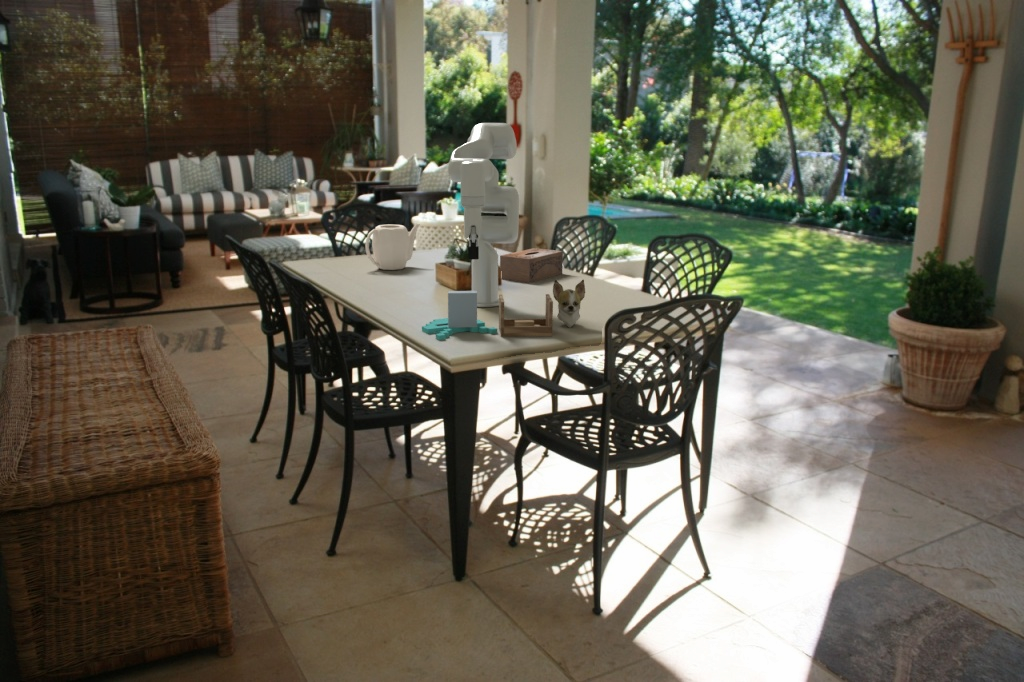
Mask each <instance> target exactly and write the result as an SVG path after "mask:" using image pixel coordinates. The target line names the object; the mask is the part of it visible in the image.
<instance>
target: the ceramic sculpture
mask: <svg viewBox="0 0 1024 682" xmlns="http://www.w3.org/2000/svg"><path fill="white" fill-rule="evenodd" d="M552 294H553V298H554V300H555V301H556V302H558V303H557V304H558V305H557V309H558V312H557V317H556V318H558V319H559V320H560V321H561V322H562V323H564V325H565V326H567V328H572V327H573V326H574V325H575V324H576V323H577V321H579V319H580V318H581V314H580V311H581V310H580V309H581V302H582V301H583V300H584V299H585V295H586V287H585V280H584V279H581V281H579V282H578V283H577V284H575V288H574V290H573V289H571V288H570V289H565V290H564V287H563V285H562V284H561V283H560V282H558V281H557V279H554V283H553V287H552Z"/></svg>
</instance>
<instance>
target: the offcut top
mask: <svg viewBox="0 0 1024 682" xmlns="http://www.w3.org/2000/svg"><path fill="white" fill-rule="evenodd" d="M514 326H515V327H516V326H534V321H533V320H514Z"/></svg>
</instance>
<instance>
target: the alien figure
mask: <svg viewBox="0 0 1024 682" xmlns="http://www.w3.org/2000/svg"><path fill="white" fill-rule="evenodd" d="M421 331H422V332H424V333H425V334H427V335H430V334H435V339H436V340H437V341H445V340H446V338H449V337H450V336H452V335H453V334H455V333H462V332H463V333H464V332H470V333H480V334H486V333H487V334H490V335H495V334H498V328H497V327H495V326H491V327H487V326H486V323H485V322H484V321H482V320H481V319H477V327H459V328H449V327H448V317H445V318H436V319H433V320H432V321H429V323H425V325H422V326H421Z"/></svg>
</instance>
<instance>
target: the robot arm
mask: <svg viewBox="0 0 1024 682" xmlns="http://www.w3.org/2000/svg"><path fill="white" fill-rule="evenodd" d="M517 147H518V145H517V139H516V134H515V132H514V129H513V127H512V126H511V124H509V123H505V122H481V123H478V124H475V125H474V126H473V127H472V129H471V132H470V136H469V137H468V138H467V142H466V143H464V144H462V145H460V146H458V147H457V148H455V149H454V150H453V151H452V152H451V155H450V159H449V162H448V167H447V172H448V176H449V179H450V180H451V181H452V182H454V183H460V207H462V208H463V237H464V240H467V239H468V241H467V253H468V255H467V256H468V257H467V259H468V260H471V291H477V308H494V307H499V255H498V253H497V251H496V249H495V248H494V247H493V245H492V244H515V243H516V242H517V241H518V238H519V229H520V228H519V226H520V225H519V223H520V219H519V218H520V216H519V215H520V197H519V196H520V195H519V192H518V190H517V188H516V187H514V186H510V185H508V186H507V185H499V177H500V175H499V174H500V173H499V171H498V169H497V167H496V166H495V165H494V164H493V162H492V161H491V160H511V159H513V158H515V155H516V153H517V149H518V148H517ZM482 213H485V214H504V215H506V216H502V215H501V216H500V215H498V216H497V215H496V216H495V215H482Z"/></svg>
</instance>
